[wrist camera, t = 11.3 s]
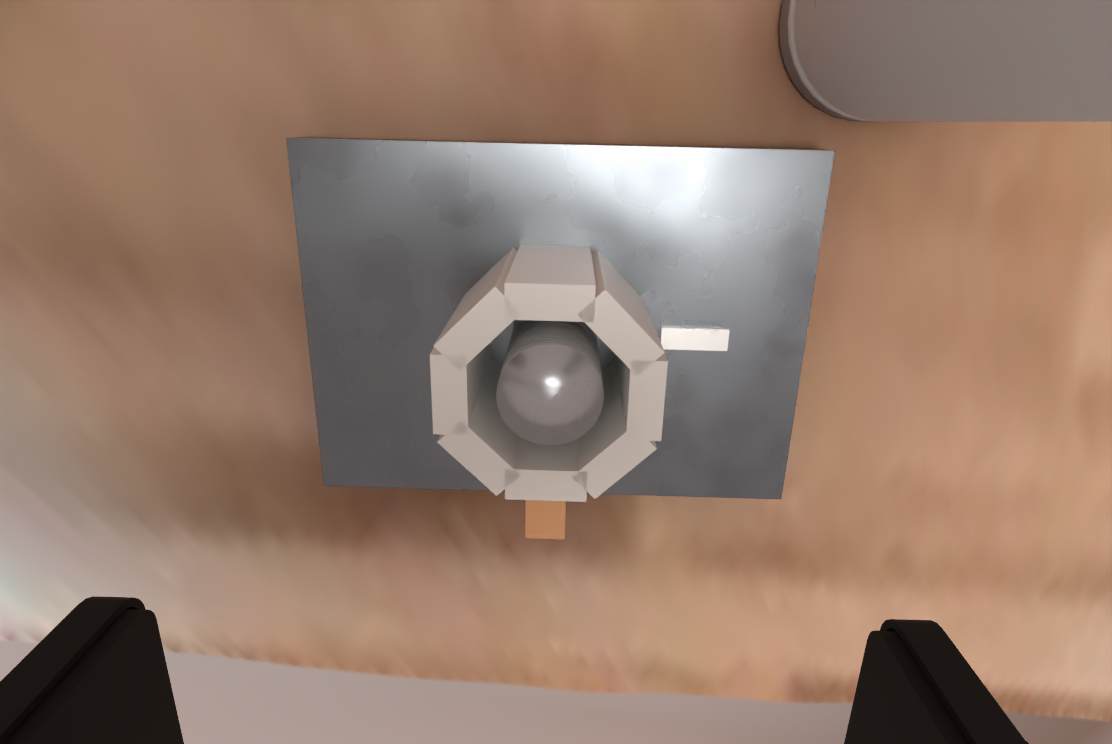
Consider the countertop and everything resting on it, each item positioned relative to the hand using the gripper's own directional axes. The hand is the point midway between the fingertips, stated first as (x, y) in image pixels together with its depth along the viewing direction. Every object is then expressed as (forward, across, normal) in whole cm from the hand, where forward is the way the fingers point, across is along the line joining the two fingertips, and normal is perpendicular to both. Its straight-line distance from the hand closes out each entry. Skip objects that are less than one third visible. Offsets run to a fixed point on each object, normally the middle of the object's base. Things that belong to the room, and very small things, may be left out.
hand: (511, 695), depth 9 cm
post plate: (+18, 0, 0) cm, 18 cm away
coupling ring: (+17, 0, 0) cm, 17 cm away
